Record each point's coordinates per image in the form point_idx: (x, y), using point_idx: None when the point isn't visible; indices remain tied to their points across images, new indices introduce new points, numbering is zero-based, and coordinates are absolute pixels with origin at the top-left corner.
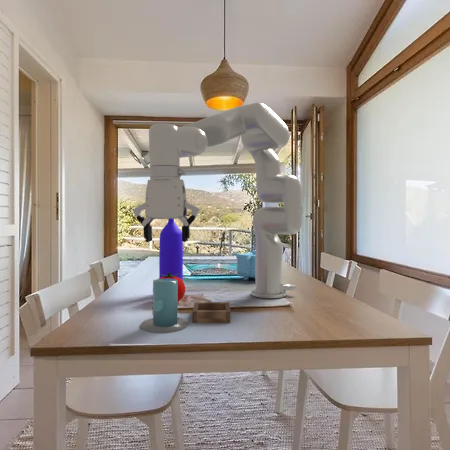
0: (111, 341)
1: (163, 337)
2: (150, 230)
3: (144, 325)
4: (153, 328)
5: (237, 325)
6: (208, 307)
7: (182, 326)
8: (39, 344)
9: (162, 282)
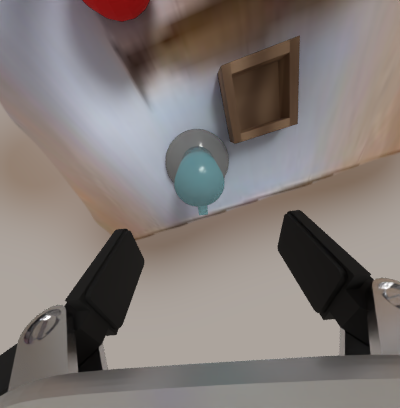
0: (167, 218)
1: None
2: (115, 285)
3: None
4: None
5: None
6: (249, 69)
7: (225, 170)
8: None
9: (202, 202)
